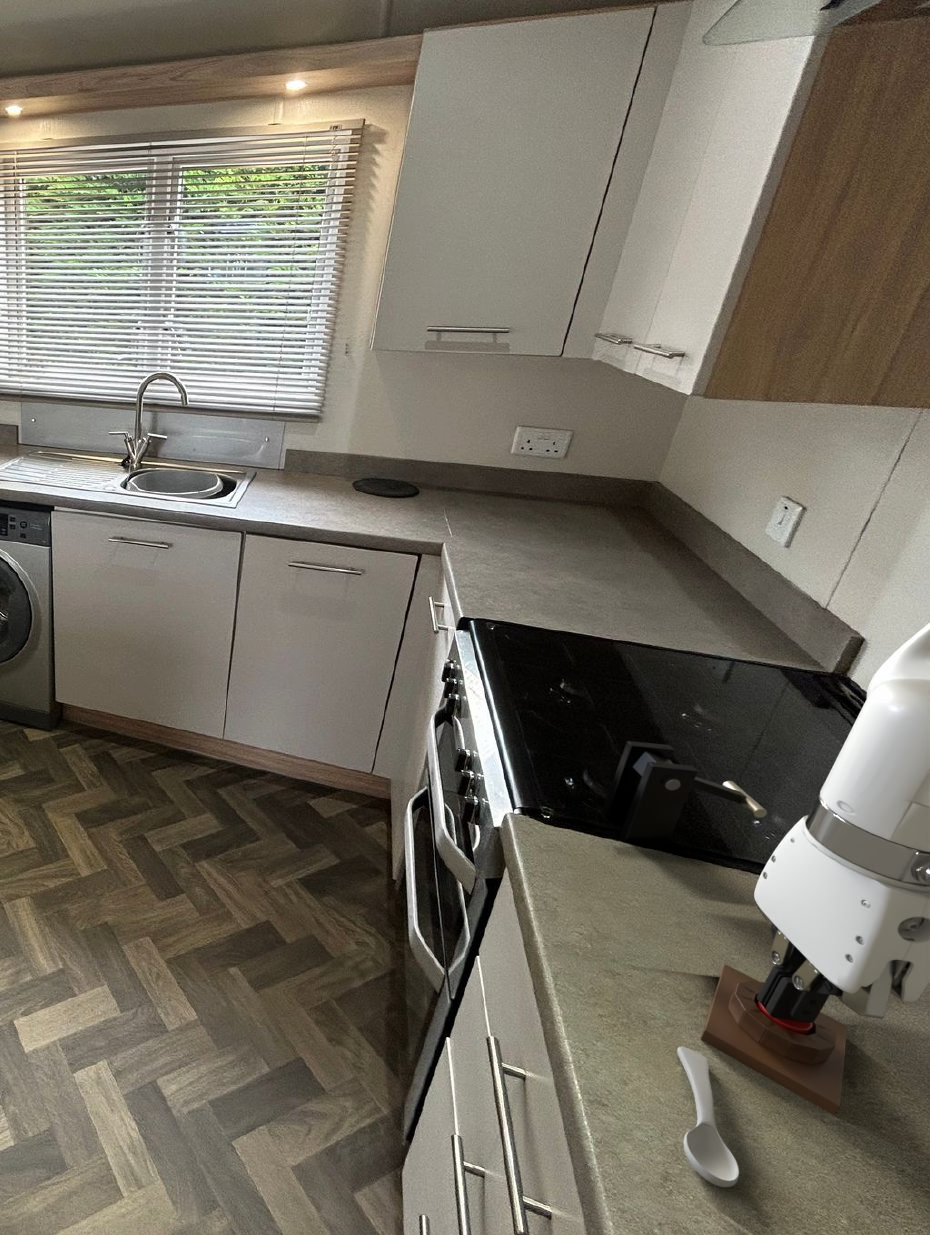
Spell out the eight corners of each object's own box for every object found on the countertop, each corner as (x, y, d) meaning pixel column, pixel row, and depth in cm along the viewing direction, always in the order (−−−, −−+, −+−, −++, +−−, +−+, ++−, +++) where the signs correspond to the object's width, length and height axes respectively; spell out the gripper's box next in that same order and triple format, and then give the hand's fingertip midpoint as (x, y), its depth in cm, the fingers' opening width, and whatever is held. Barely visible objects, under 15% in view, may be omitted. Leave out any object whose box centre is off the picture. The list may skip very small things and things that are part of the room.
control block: (719, 972, 66) (731, 949, 65) (841, 1035, 60) (856, 1010, 59) (700, 1039, 60) (712, 1015, 59) (833, 1116, 54) (850, 1090, 53)
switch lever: (726, 794, 81) (740, 778, 80) (758, 823, 77) (773, 807, 76) (625, 759, 82) (637, 743, 81) (650, 786, 77) (664, 769, 76)
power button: (754, 1001, 62) (762, 987, 61) (805, 1027, 59) (814, 1013, 59) (749, 1024, 60) (757, 1009, 59) (802, 1052, 57) (810, 1037, 57)
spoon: (683, 1177, 50) (692, 1158, 50) (664, 1052, 60) (672, 1034, 59) (738, 1206, 49) (748, 1186, 48) (710, 1073, 58) (718, 1055, 57)
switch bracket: (657, 819, 86) (690, 738, 82) (707, 873, 78) (746, 786, 73) (559, 808, 88) (586, 728, 83) (598, 859, 79) (630, 774, 75)
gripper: (1053, 927, 45) (921, 1113, 52) (851, 783, 59) (767, 945, 65) (916, 909, 46) (804, 1094, 53) (749, 772, 60) (677, 932, 66)
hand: (783, 1011), depth 59 cm, fingers closed
